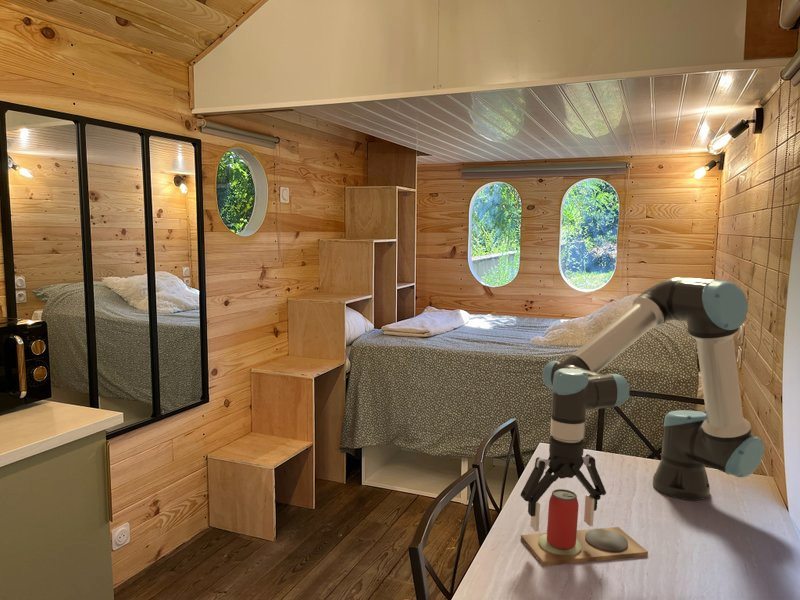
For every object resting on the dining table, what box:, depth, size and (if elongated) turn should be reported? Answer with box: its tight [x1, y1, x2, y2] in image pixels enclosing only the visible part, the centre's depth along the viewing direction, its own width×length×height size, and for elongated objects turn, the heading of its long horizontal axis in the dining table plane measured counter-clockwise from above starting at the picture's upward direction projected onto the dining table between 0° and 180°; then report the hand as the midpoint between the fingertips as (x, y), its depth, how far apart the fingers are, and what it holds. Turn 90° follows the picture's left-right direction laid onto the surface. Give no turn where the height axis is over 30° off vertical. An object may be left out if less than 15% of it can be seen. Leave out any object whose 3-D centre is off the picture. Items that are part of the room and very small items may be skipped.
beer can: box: [546, 488, 579, 550], centre depth 141 cm, size 7×7×12 cm
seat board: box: [520, 526, 649, 567], centre depth 143 cm, size 26×12×2 cm, turn 103°
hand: (561, 526), depth 141 cm, fingers open, 13 cm apart
